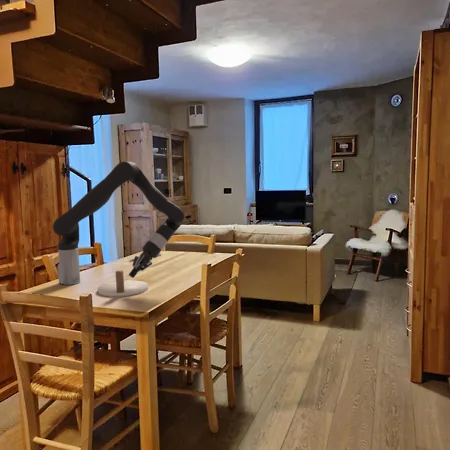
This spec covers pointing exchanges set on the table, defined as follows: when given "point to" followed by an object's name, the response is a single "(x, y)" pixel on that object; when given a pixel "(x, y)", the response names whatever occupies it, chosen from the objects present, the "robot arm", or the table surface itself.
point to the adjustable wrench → (133, 259)
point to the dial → (122, 287)
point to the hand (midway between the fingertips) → (130, 276)
